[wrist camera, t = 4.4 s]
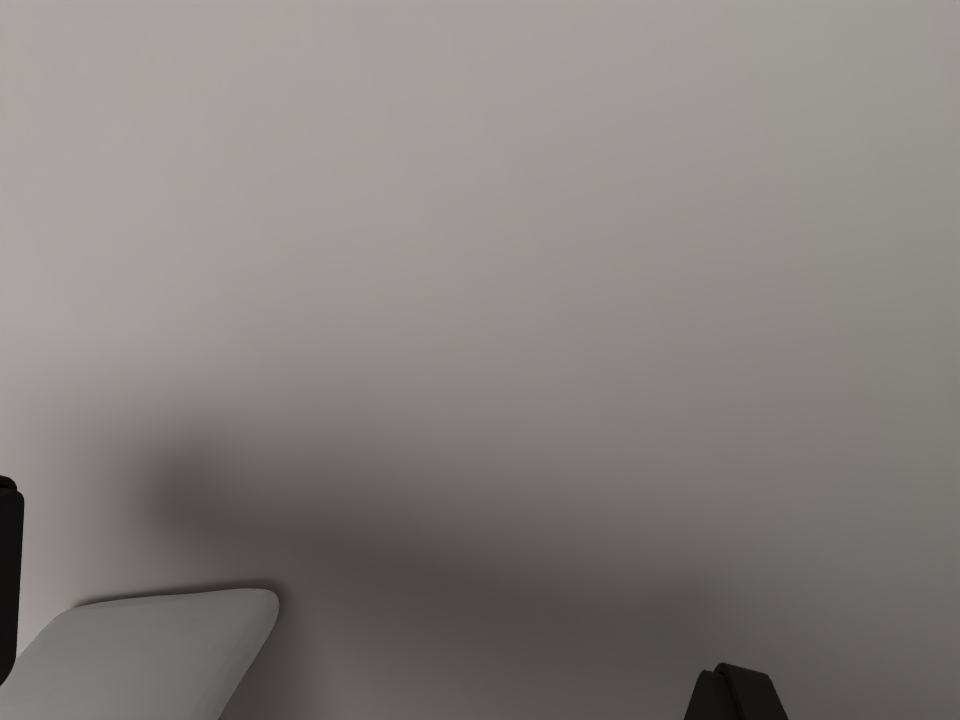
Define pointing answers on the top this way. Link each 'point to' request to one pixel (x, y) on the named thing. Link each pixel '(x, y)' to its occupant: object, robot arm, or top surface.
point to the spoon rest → (141, 658)
